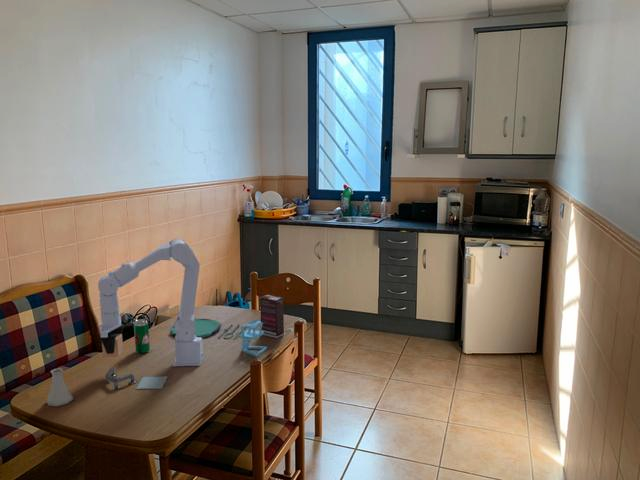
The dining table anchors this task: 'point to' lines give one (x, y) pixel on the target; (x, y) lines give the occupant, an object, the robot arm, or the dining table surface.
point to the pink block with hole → (117, 349)
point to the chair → (252, 337)
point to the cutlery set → (208, 328)
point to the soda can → (141, 336)
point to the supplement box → (272, 316)
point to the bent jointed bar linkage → (111, 375)
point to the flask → (58, 390)
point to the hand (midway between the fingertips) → (113, 349)
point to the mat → (152, 383)
